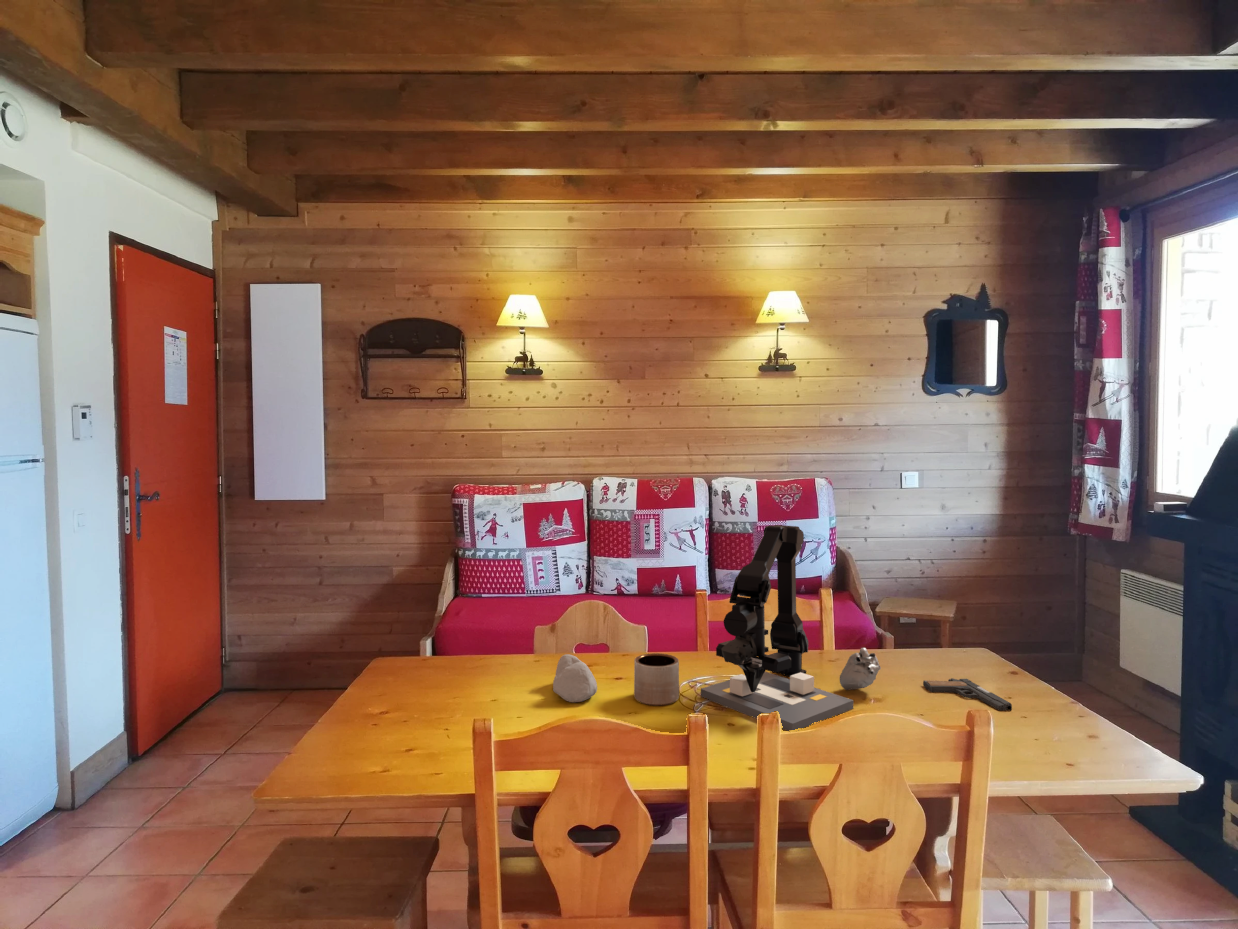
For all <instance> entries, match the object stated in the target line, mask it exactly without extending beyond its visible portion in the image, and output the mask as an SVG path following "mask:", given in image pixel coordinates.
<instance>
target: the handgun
mask: <svg viewBox="0 0 1238 929" xmlns="http://www.w3.org/2000/svg"><path fill="white" fill-rule="evenodd" d="M922 682H923V683H922V685H923V687H924V688H925V689H926V690H927V691H928V692H930V693H954V694H958V695H959V696H961V697H963V698H967V699H976V700H977V699H978V700H979V701H981V702H983V703H984V704H986V705H987V706H988V705H989V706H991V707H992V708H994V709H995V710H997V711H1012V709H1013V705H1012V703H1011V702H1010V701H1008V700H1006V699H1005V698H1002V697H1000V696H999V695H997V694H996V693H994V692H992V691H988V690H986V689H985V688H983V687H982V686H981V685H979V684H976V683H975V682H973V681H972V680H970V679H969V678H959V679H957V678H954V677H951V678H949V679H948V680H930V679H929V680H923V681H922Z"/></svg>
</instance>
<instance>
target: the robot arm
mask: <svg viewBox="0 0 1238 929" xmlns="http://www.w3.org/2000/svg"><path fill="white" fill-rule="evenodd" d="M804 537H805V535H804V530H802V529H800V527H799V526H796V525H785V524H783V525H782V524H774V525H772V524H771V525H766V526H764V529H763V536H762V538H761V540H760V542H759V544H758V547H757V548H756V551H755V553H754V554H753V557H752V560H751V561H750V562H749V563H747V565H745V566H743V567H742V568H741V569H740V571H739V572H738V574H737V575H736V577H735V579H734V582H733V586H732V589H731V594H730V598H729V602H728V603H729V604H733V605H732V606H731V610H730V611H728V612H727V613H726V614H725V616H724V617H723V618H724V619H723V626H724V629H725V631H726V633H728V634H729V635H731V636H734V639H732V640H726V641H723V642H720V643H718V644H717V646H716V647H715V653H716V654H715V655H716V656H717V657H719V658H720V657H721V658H723V660H724V662H725V663H730V664H733V665H735V666H738V667H739V668H741V670H742V672H743V675H745V677H746V679H747V682H748V685H749V688H750V691H751V692H755V691H756V689H757V686H758V684H759V682H760V680H761V678H762V676H763V674H764V672H766V671H767V672H770V673H776V674H780V675H782V676H786V677H789V678H790V676H791V675H794V674H797V673H800V672H801V673H804V674H807V670H806V669H803V667H802V666H803V665H802V664H803V663H802V661H803V654H804V653H809V639H808V637H807V635H806V634H807V633H806V632H805V630H804V626H803V624H804V622H803V621H802V619H801V618H800V616H799V615H798V613H797V575H796V574H797V570H796V569H797V568H796V565H797V564H796V562H797V561H796V559H797V557H798V555H799V553H800V552H801V550H802V548H803V544H804V540H805V538H804ZM775 560H776V561H777V562H776V563H777V564H776V568H777V570H776V571H777V615H776V617H775V618H774V620H773V621H772V622H771V625H770V626H771V629H770V630H769V629H765V622H766V621H765V604H767V602H768V598H769V595H770V594H771V593H770V592H771V589H772V585H771V580H770V572H771V570H772V567H773V565H774V562H775ZM767 635H769V636H770V644H771V645H770V646H771V649H772V650H777V652H774V653H770V654H765V653H768V652H769V646H766V639H765V638H766V637H765V636H767Z"/></svg>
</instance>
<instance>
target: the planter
mask: <svg viewBox="0 0 1238 929" xmlns="http://www.w3.org/2000/svg"><path fill="white" fill-rule="evenodd" d="M633 662H634V664H633V665H634V672H633V674H634V675H633V678H634V680H633V682H634V683H633V685H634V686H633V696H634V699H635V700H636V701H637V702H639V703H641V704H643V705H647V706H651V707H652V706H653V707H654V706H655V707H657V706H658V707H661V706H662V707H663V706H668V705H671V704H673V703H674V704H675V702H676V701H677V702H678V700H679V698H680V659H679V658H678V657H676V656H675V655H672V654H667V653H661V652H660V653H658V652H656V653H655V652H653V653H645V654H641V655H638V656H636V657H635V658H634V661H633Z"/></svg>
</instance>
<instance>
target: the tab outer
mask: <svg viewBox="0 0 1238 929" xmlns="http://www.w3.org/2000/svg"><path fill="white" fill-rule="evenodd" d="M729 680H730V692H731V693H734V694H737V695H740V696H742V697H743V696H746V695H749V694H752V693H754V692H751V691H750V688H749V685H748V682H747V679H746V677H745V674H744V673H743V674H742V673H740V674H736V675H734V676H731V677H729Z"/></svg>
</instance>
